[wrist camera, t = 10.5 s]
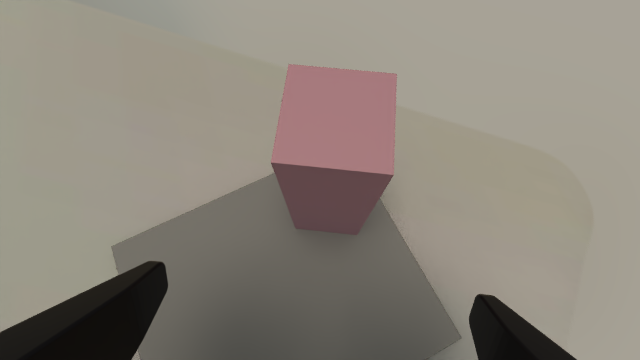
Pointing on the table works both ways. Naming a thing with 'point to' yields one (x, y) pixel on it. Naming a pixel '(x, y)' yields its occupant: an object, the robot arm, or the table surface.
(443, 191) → the table surface
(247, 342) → the mat
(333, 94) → the pink box
